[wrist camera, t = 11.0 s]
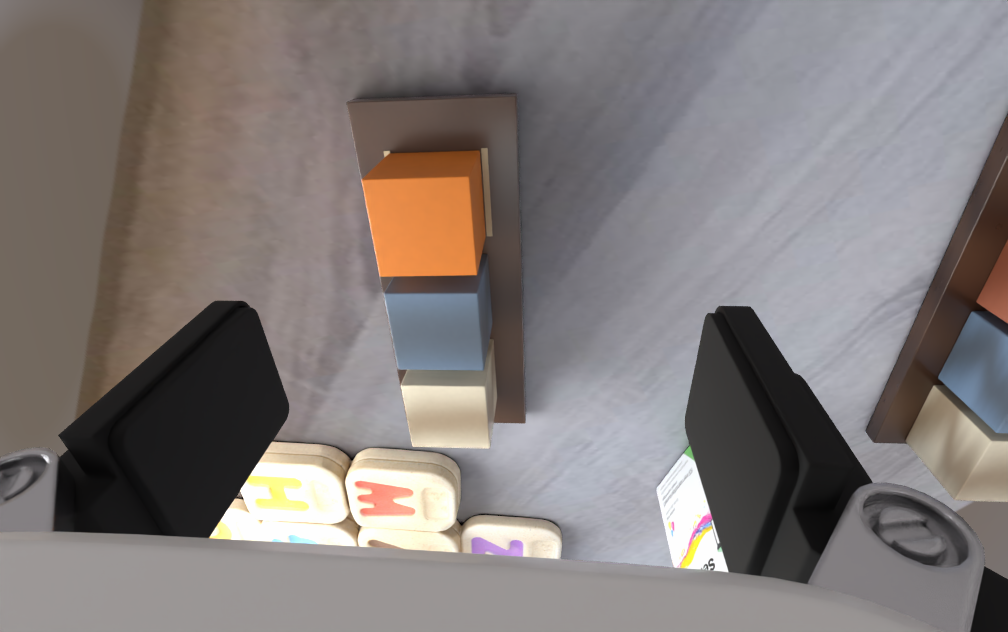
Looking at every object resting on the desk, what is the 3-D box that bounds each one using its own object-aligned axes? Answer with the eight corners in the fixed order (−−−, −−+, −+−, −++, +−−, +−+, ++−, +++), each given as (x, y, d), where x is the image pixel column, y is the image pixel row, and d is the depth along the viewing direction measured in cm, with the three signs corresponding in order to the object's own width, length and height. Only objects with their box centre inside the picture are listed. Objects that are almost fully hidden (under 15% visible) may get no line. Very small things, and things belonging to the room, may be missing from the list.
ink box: (715, 407, 32) (789, 584, 22) (782, 429, 33) (885, 612, 23) (652, 488, 37) (690, 667, 27) (712, 507, 37) (772, 689, 27)
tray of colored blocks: (353, 98, 24) (306, 119, 20) (517, 93, 24) (509, 113, 19) (410, 410, 35) (388, 473, 30) (525, 413, 34) (522, 477, 29)
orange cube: (388, 153, 24) (360, 179, 21) (479, 150, 24) (469, 176, 20) (402, 239, 27) (379, 277, 23) (485, 237, 26) (477, 275, 23)
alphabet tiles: (544, 681, 53) (544, 708, 51) (247, 652, 55) (235, 677, 53) (573, 461, 36) (574, 488, 34) (138, 429, 38) (115, 453, 36)
